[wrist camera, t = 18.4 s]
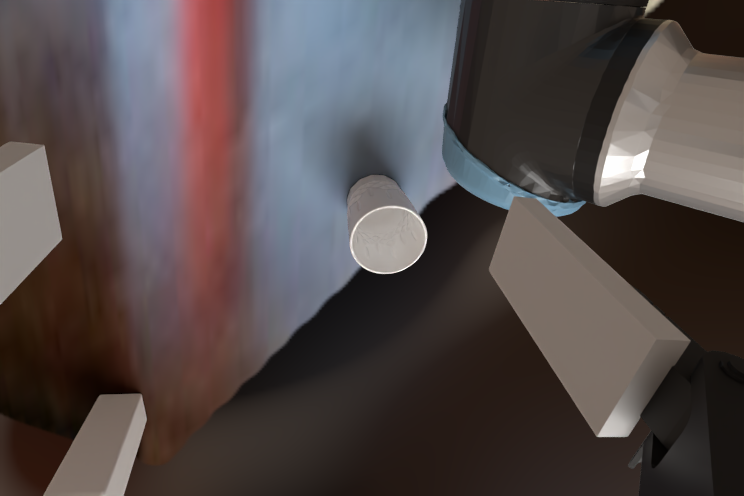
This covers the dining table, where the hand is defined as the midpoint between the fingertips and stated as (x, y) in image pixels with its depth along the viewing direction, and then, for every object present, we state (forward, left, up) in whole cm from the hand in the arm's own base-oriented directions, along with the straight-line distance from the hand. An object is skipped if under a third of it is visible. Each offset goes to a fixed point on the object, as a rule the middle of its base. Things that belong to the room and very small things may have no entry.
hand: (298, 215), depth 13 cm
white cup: (-10, +15, -37) cm, 41 cm away
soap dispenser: (+21, +51, -37) cm, 66 cm away
